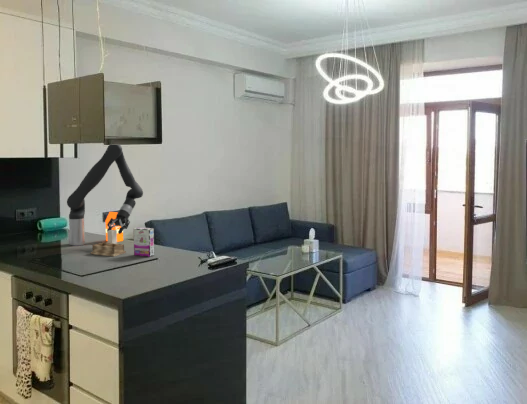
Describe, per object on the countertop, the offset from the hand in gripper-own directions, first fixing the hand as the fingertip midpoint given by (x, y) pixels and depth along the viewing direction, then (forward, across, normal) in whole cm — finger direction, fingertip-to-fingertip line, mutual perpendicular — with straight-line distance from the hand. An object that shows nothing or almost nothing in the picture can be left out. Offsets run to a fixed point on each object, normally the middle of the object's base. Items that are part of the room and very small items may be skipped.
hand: (113, 232), depth 304 cm
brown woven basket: (+16, +6, -2) cm, 17 cm away
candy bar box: (+13, +29, +2) cm, 32 cm away
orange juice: (-8, -17, +23) cm, 29 cm away
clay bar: (+8, 0, +6) cm, 10 cm away
